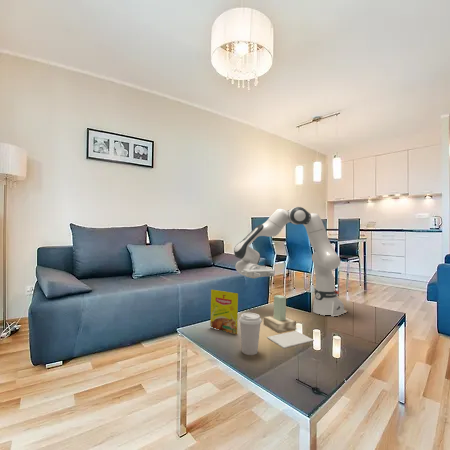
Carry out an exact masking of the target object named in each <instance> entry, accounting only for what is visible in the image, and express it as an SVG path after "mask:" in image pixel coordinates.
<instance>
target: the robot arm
mask: <svg viewBox="0 0 450 450" xmlns="http://www.w3.org/2000/svg"><path fill="white" fill-rule="evenodd" d="M288 223H289V224H293V225H303V226H304V228H305V230H306V234H307V236H308V239H309V242H310V245H311V247H312V248H313V250H314V252H313V253H312V254H311V261H312V263H313V269H314V275H315V289H314V300H313V306H312V308H313V309H312V313H314V314H317V315H319V314H320V316H325V315H331V316H330V317H334V316H338V315H341V314H343V313H345V312H346V311H345V310H346V309H345V305H344V302H343V301H342V300H341V299H339V298H338V297H337V295H339V294H340V291H338V290H335V277H334V274H333V270H336V269H338V268H339V267H340V265H341V258H340V256H339V255H338V253H336V251H335V249H334V247H333V245H332V243H331V242H330V239H329V238H328V234H327V231H326V227H325V225H324V221H323V220H322V218H321V216H320V215H319V213H316V212H311V213H310V212H309V211H307V209H305V208H304V207H301V206H295V207H292V208H290V209H289V210H286V209H284V208H277V209H276V210H274V212H273V213H272V214H271V215H270V216H269V217H268V219H267V220H266V221H264V222H263V223H261V224H258V225H257V226H255V227H254V228H253V229H252V230H251V231H250V232H249V233H248V234H247V235H246V236H245V237H244V238H243V239H242V240H241V241H239V242H238V243H237V244H236V245H235V247H234V248H233V254H234V256H235V257H236V258H237V259H240V260H238V261H237V262H236V264H235V266H234V267H235V270H236V272H237V273H238V274H239V275H241V276H244V277H246V278H250V279H253V280H254V279H257V278H262V277H263V278H264V277H275V270H274V269H272V268H270V267H266V265H261V264H260V261H261V255H260V252H258V251H257V250H256V249H255V248H252V247H251V246H250V245H251V244H252V243H253V242H255V240H256V239H257V238H258V237H269V238H270V237H271V238H273V237H277V236H278V235H279V234H280V233H281V231H282V230H283V229H284V227H285V225H287V224H288ZM344 309H345V310H344ZM343 315H344V314H343ZM341 316H342V315H341ZM338 317H339V316H338Z"/></svg>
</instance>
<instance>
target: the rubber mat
mask: <svg viewBox="0 0 450 450" xmlns="http://www.w3.org/2000/svg"><path fill="white" fill-rule="evenodd" d="M266 339H268V340H270V341H271V342H273V343H274V344H276V345H278V346H279V347H280V348H282V349H288V348H290V347H295V346H299V345H303V344H306V343H307V344H308V343H311V342H314V341H315V340H314V339H313V338H311V337H310V336H307V335H305V334H303V333H301V332H299V331H298V330H294V331H292V330H291V331H288V332H284V333H279V334H274V335H270V336H267V337H266Z"/></svg>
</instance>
